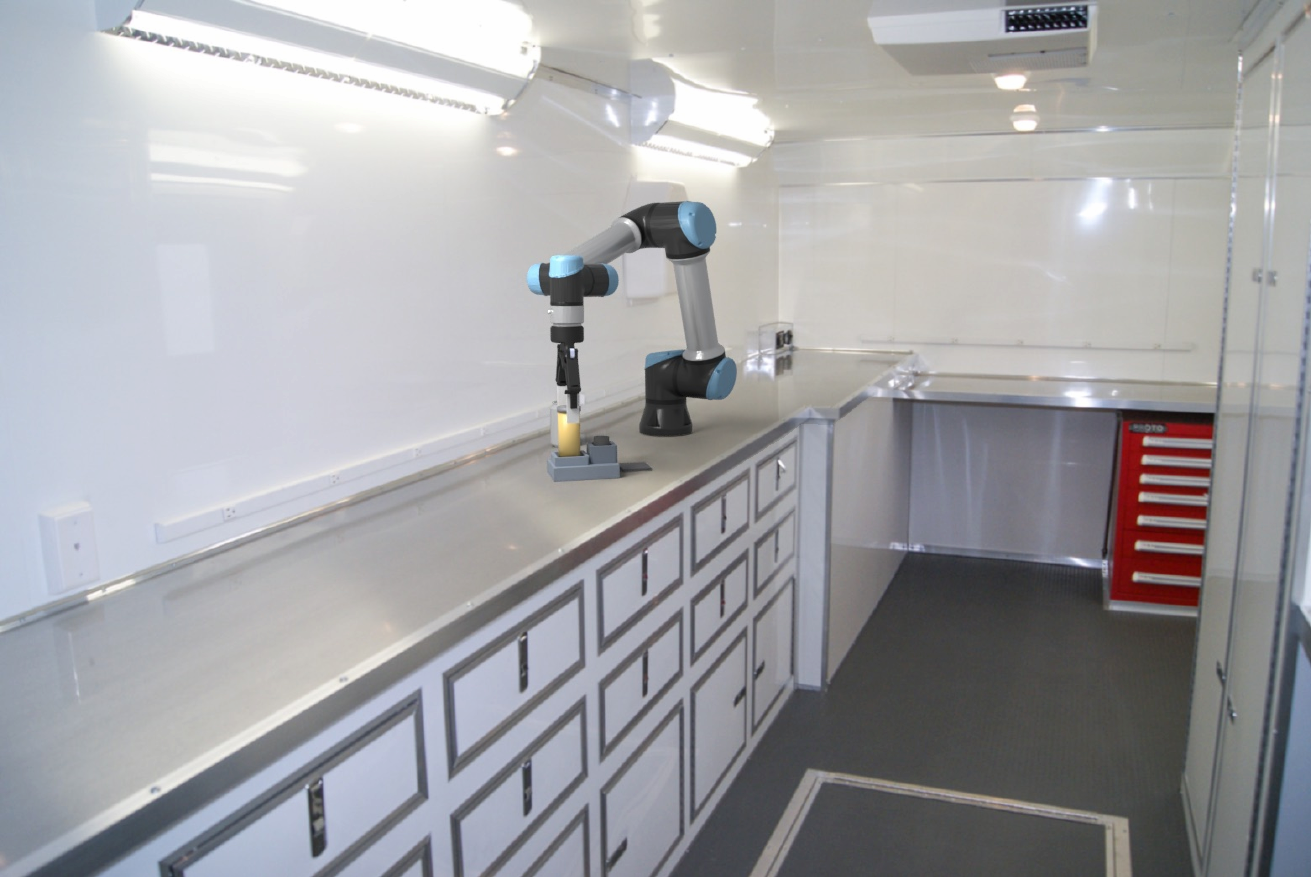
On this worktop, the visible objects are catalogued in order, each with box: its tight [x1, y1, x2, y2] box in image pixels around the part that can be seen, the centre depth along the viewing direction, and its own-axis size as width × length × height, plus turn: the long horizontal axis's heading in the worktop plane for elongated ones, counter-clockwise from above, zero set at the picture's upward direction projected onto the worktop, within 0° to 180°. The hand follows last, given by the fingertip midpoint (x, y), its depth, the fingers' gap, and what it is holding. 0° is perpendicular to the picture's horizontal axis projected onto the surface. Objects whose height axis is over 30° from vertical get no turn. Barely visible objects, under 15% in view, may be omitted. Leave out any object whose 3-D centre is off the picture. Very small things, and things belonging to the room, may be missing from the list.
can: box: [549, 400, 559, 449], centre depth 273 cm, size 8×8×12 cm
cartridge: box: [557, 405, 582, 457], centre depth 236 cm, size 5×5×13 cm
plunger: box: [593, 435, 610, 446], centre depth 239 cm, size 4×4×5 cm
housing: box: [546, 440, 621, 483], centre depth 238 cm, size 15×11×7 cm
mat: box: [617, 461, 653, 473], centre depth 246 cm, size 7×7×1 cm
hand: (568, 418), depth 236 cm, fingers open, 13 cm apart
